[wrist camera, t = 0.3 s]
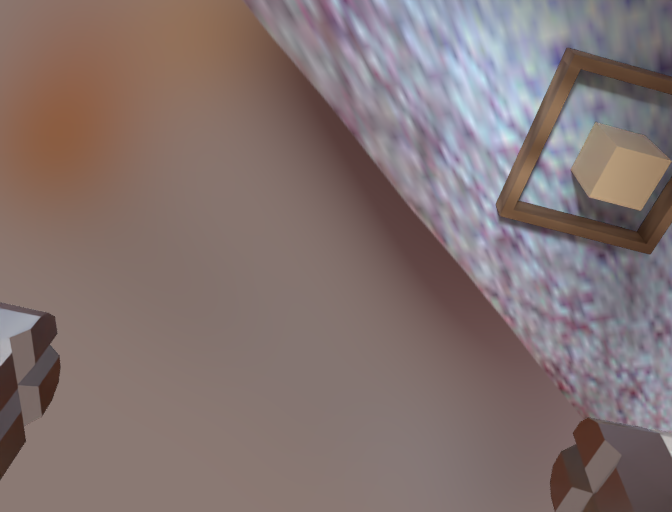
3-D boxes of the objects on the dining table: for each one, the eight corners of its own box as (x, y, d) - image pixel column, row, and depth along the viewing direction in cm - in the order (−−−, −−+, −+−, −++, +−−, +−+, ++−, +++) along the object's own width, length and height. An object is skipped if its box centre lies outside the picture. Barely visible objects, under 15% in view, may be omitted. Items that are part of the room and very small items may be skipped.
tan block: (595, 121, 53) (616, 146, 48) (645, 135, 54) (671, 161, 49) (570, 169, 56) (588, 197, 51) (618, 182, 56) (640, 210, 51)
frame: (566, 47, 50) (574, 54, 48) (735, 94, 51) (750, 103, 49) (495, 204, 59) (499, 216, 56) (640, 241, 60) (650, 254, 58)
